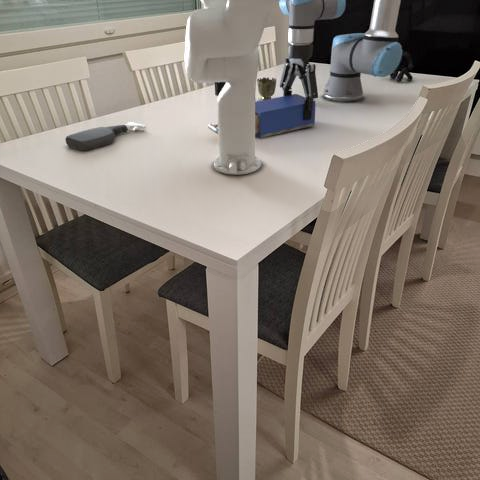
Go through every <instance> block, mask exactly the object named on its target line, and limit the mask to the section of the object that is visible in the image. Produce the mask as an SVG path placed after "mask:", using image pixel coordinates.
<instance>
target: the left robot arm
mask: <svg viewBox="0 0 480 480" xmlns="http://www.w3.org/2000/svg"><path fill="white" fill-rule="evenodd" d="M277 1H278V0H200V3H202V5H203V7H202V8H198V9H195V10H193V11H191V13H190V14H189V15H188V18H187V21H186V29H185V41H184V43H185V44H184V69H185V72H186V75H187V77H188V79H189V80H190V81H192V83H193V82H194V83H197V84H208V83H209V84H210V83H214V96H216V97H217V100H216V110H217V111H216V112H217V124H218V127H217V128H218V134H217V136H218V137H217V138H218V157H216V158H215V159H214V160H213V167H214V169H215V170H216V171H217V172H219V173H222V174H226V175H233V176H234V175H238V176H239V175H247V174H252V173H254V172H256V171H258V170H259V169H260V168H261V166H262V161H261V159H260V158H259V157H258V156H256V135H255V102H256V90H257V89H256V88H257V79H258V72H259V64H260V50H259V47H258V46H259V44H260V42H261V40H262V36H263V33H264V30H265V28H266V24H267V22H268V18H269V14H270V13H271V10H272V9H273V8H274V5H275V4H276V3H277Z"/></svg>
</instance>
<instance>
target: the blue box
mask: <svg viewBox="0 0 480 480" xmlns="http://www.w3.org/2000/svg"><path fill="white" fill-rule="evenodd" d="M305 98H306V96H303V95H300V94H298V93H294V94H293V93H292V95H287V96H283V95H282V96H278V97H271V99H267V100H262V99H261V100H258V101H257V100H256V101H255V113H256V114H258V115H259V133H255V136H257V137H259V138H260V139H262V138H266V137H271V136H275V135H280V134H284V133H288V132H292V131H293V132H294V131H296V130H297V131H298V130H301V129H305V128H310V127H314V126H315V125H316V123H315V122H316V105H317V103H316V102H317V101H316V100H315V99H313V109H312V116H311V119H310V120H303V111H304V99H305Z"/></svg>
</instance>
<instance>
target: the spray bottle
mask: <svg viewBox="0 0 480 480" xmlns="http://www.w3.org/2000/svg"><path fill="white" fill-rule="evenodd" d="M142 129H143V130H145V129H147V126H146V125H144V124H141V123H137V122H133V121H128V123H125V124H118V125H111V126H99V127H93V128H90V129H85V130H81V131H78V132H75V133H72V134H68V135H67V136H66V137H65V139H64V140H65V143H66V145H67V146H68V147H70V148H73V149H75V150H78V151H81V152H86V151H90V150H94V149H98V148H100V147H104V146H107V145H109V144H112V143H114V140H115V138H116V136H117V135H119V134H122V133H123V134H124V133H127V132H128V131H132V132H134V131H136V130H142Z"/></svg>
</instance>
